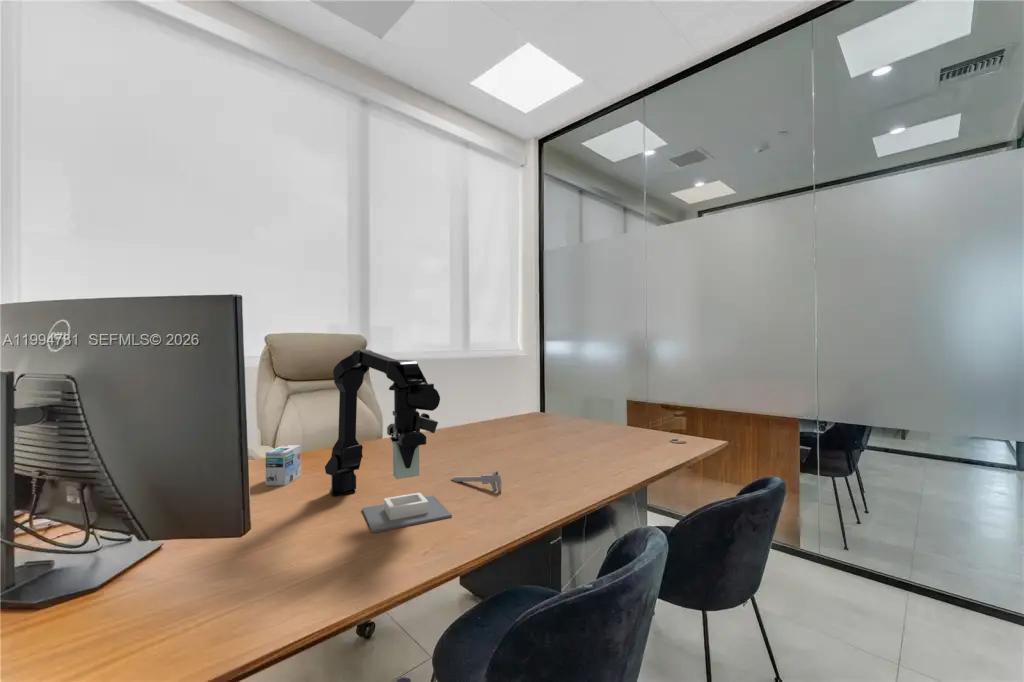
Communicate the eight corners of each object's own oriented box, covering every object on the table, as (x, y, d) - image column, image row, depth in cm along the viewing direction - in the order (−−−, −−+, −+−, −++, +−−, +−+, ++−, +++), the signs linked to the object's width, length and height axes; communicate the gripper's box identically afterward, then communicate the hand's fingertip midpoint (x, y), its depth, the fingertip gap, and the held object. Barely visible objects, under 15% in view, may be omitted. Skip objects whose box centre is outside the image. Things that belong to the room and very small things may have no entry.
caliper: (501, 492, 133) (501, 471, 133) (499, 493, 132) (499, 472, 132) (452, 480, 145) (452, 461, 145) (450, 480, 144) (450, 462, 144)
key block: (419, 475, 116) (419, 441, 116) (396, 479, 113) (396, 444, 113) (415, 471, 119) (415, 439, 119) (393, 475, 117) (392, 441, 117)
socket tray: (372, 533, 104) (372, 518, 104) (362, 510, 118) (362, 497, 118) (451, 516, 114) (451, 503, 114) (433, 497, 128) (433, 485, 128)
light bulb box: (285, 486, 139) (285, 452, 139) (264, 486, 139) (264, 452, 139) (302, 475, 150) (302, 444, 150) (282, 475, 150) (282, 444, 150)
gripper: (445, 409, 112) (446, 470, 112) (424, 401, 128) (425, 454, 128) (402, 413, 106) (402, 477, 106) (386, 404, 123) (387, 459, 123)
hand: (406, 466), depth 116 cm, fingers closed on key block, 4 cm apart
